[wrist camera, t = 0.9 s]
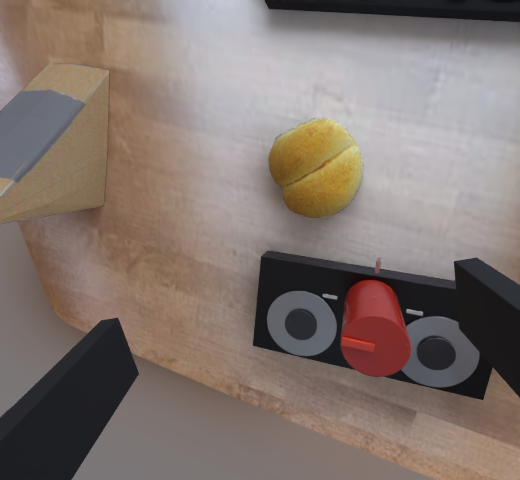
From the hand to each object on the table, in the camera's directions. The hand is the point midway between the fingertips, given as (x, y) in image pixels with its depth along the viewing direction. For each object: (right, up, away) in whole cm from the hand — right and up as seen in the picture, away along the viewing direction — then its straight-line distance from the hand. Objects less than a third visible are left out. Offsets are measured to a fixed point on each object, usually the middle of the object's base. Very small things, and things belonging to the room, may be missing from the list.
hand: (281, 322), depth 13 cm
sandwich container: (-22, +15, +27) cm, 38 cm away
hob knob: (+10, -3, +19) cm, 21 cm away
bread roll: (+5, +10, +20) cm, 23 cm away
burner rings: (+9, -6, +19) cm, 22 cm away
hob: (+10, -4, +22) cm, 24 cm away
